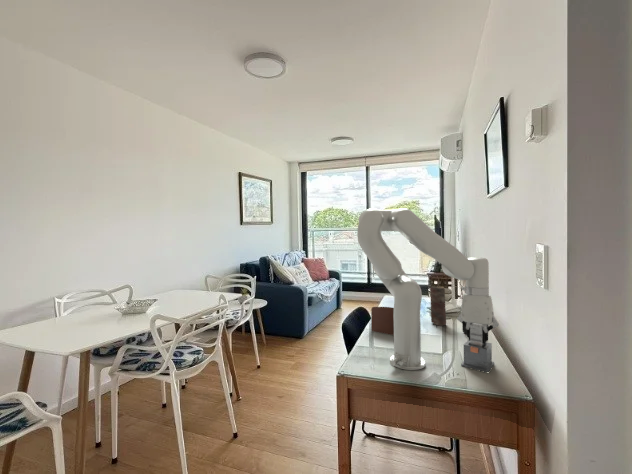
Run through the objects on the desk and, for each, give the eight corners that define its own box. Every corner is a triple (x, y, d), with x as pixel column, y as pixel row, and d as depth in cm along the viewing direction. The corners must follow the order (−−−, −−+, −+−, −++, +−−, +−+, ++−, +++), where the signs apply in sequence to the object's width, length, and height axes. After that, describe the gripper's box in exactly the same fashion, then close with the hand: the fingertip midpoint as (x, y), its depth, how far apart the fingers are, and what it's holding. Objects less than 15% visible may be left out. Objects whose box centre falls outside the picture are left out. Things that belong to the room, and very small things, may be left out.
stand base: (488, 373, 109) (488, 350, 109) (460, 366, 115) (460, 345, 115) (494, 364, 116) (494, 343, 116) (468, 358, 122) (467, 338, 122)
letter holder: (411, 341, 142) (411, 310, 142) (371, 334, 154) (370, 305, 153) (418, 335, 151) (417, 305, 150) (379, 328, 162) (378, 301, 162)
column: (482, 366, 113) (482, 327, 112) (469, 362, 116) (469, 325, 115) (485, 361, 116) (485, 324, 116) (473, 358, 119) (472, 322, 119)
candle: (428, 324, 167) (427, 286, 167) (435, 321, 172) (434, 284, 171) (442, 327, 161) (441, 288, 161) (448, 324, 166) (448, 286, 166)
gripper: (450, 290, 118) (450, 339, 118) (501, 295, 107) (501, 349, 107) (456, 287, 124) (456, 333, 124) (505, 292, 113) (505, 343, 113)
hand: (477, 340), depth 116 cm, fingers closed on column, 4 cm apart
